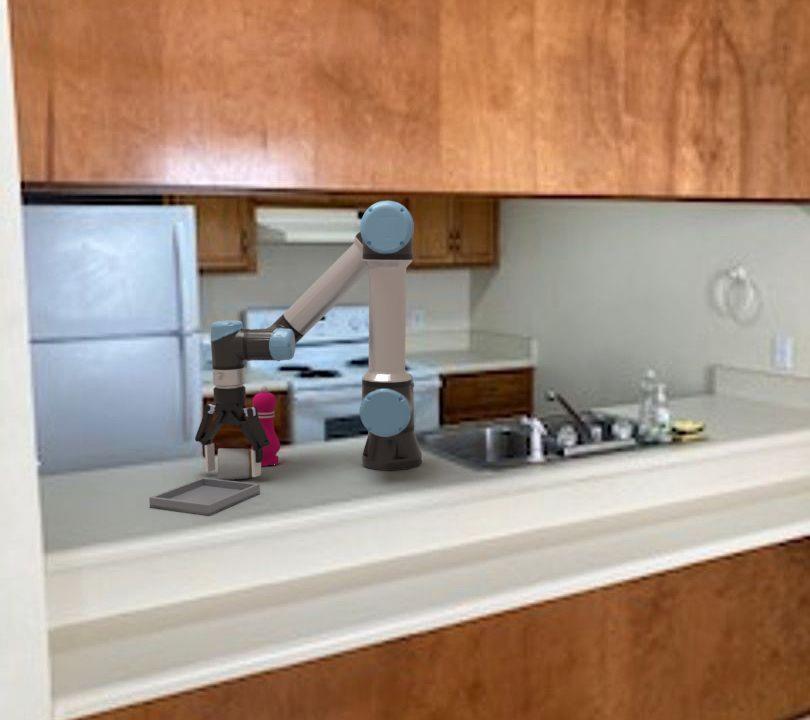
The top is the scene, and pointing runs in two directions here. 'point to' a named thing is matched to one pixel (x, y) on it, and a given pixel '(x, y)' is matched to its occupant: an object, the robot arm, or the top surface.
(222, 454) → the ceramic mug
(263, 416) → the pepper mill
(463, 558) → the top surface
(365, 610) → the top surface
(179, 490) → the grey tray
